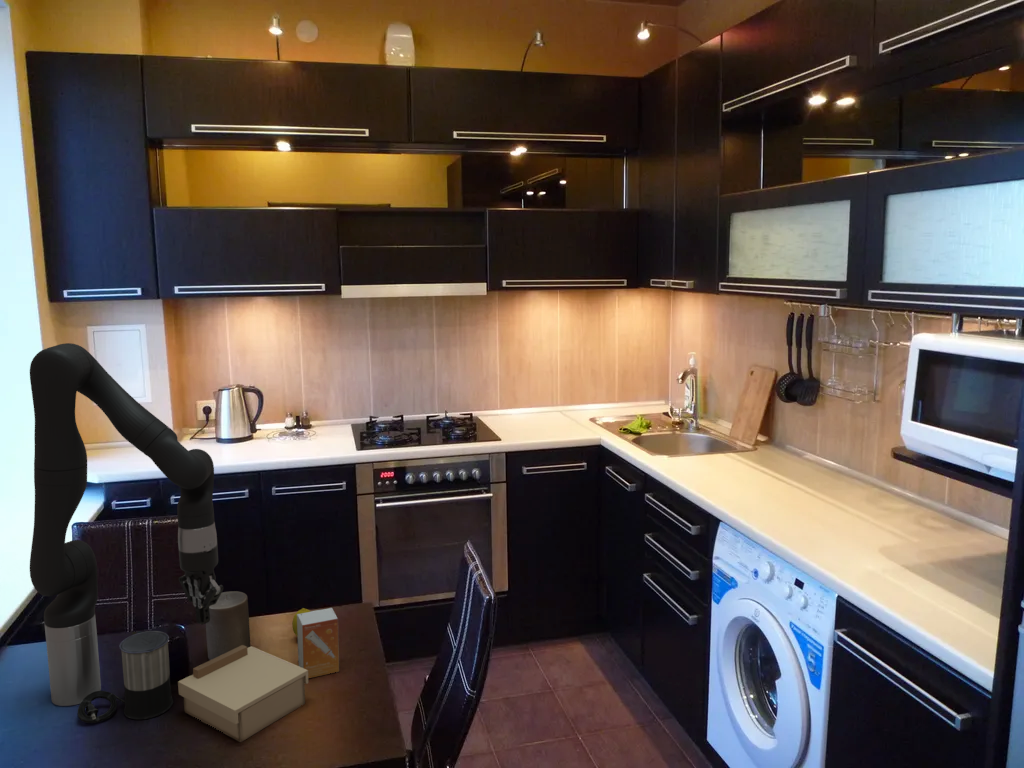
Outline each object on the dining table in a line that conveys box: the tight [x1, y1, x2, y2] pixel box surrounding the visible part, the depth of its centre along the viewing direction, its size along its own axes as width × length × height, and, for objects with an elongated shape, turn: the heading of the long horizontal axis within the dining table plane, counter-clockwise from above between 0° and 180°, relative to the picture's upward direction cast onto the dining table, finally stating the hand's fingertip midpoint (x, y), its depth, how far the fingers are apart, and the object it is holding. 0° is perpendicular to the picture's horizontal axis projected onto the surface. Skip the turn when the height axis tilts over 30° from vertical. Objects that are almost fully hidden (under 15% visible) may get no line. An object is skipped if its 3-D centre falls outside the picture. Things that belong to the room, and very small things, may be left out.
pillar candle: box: [205, 590, 251, 661], centre depth 178 cm, size 10×10×15 cm
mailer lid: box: [177, 645, 309, 724], centre depth 156 cm, size 18×18×5 cm
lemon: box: [291, 607, 312, 637], centre depth 186 cm, size 6×6×8 cm
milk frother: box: [77, 630, 174, 724], centre depth 154 cm, size 14×16×15 cm
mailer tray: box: [183, 676, 306, 743], centre depth 156 cm, size 18×16×6 cm
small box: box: [297, 607, 340, 679], centre depth 171 cm, size 8×6×13 cm
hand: (203, 622), depth 161 cm, fingers closed
